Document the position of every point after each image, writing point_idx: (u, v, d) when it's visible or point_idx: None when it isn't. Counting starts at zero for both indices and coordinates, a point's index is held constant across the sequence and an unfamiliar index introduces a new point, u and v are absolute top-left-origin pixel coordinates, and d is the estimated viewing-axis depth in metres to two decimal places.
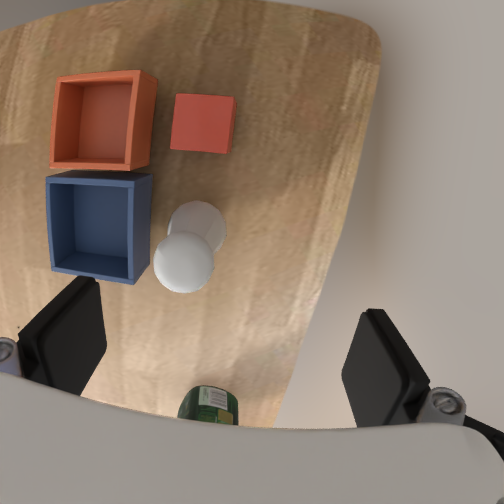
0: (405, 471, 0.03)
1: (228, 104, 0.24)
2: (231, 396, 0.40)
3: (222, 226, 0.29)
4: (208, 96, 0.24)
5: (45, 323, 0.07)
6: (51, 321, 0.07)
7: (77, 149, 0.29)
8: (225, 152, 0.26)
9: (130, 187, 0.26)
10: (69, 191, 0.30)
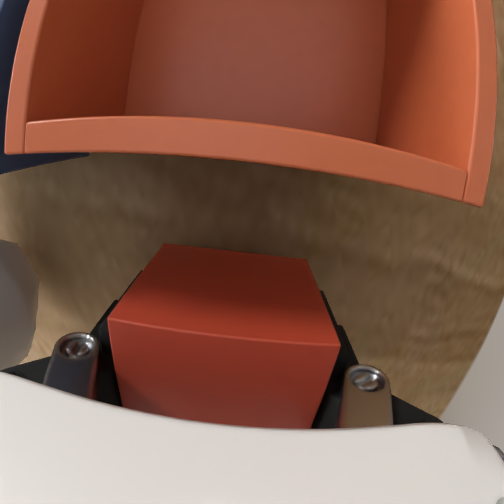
0: (405, 471, 0.03)
1: None
2: None
3: None
4: (305, 427, 0.07)
5: None
6: None
7: None
8: None
9: None
10: None
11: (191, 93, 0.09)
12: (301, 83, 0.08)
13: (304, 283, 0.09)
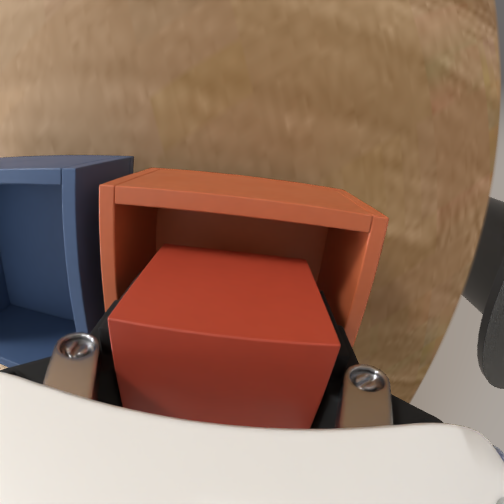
0: (405, 471, 0.03)
1: None
2: None
3: None
4: (305, 427, 0.07)
5: None
6: None
7: None
8: None
9: None
10: None
11: None
12: None
13: (304, 283, 0.09)
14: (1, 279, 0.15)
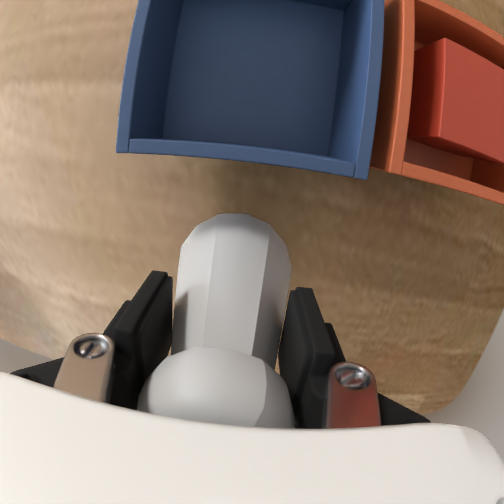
0: (405, 471, 0.03)
1: (502, 154, 0.11)
2: None
3: None
4: None
5: (139, 316, 0.08)
6: (143, 314, 0.08)
7: None
8: (440, 134, 0.11)
9: (355, 168, 0.12)
10: None
11: None
12: None
13: None
14: (164, 102, 0.15)
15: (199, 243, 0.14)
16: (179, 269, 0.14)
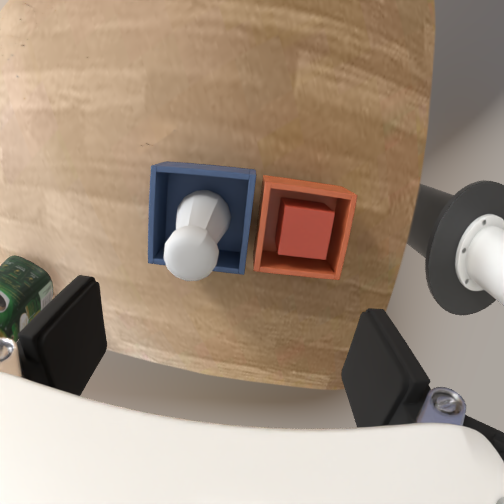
0: (405, 471, 0.03)
1: (320, 255, 0.32)
2: None
3: None
4: (328, 239, 0.31)
5: (45, 323, 0.07)
6: (51, 321, 0.07)
7: None
8: (279, 253, 0.32)
9: (238, 270, 0.32)
10: None
11: None
12: None
13: (325, 206, 0.33)
14: (164, 228, 0.35)
15: (186, 202, 0.30)
16: (177, 214, 0.30)
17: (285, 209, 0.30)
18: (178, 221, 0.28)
